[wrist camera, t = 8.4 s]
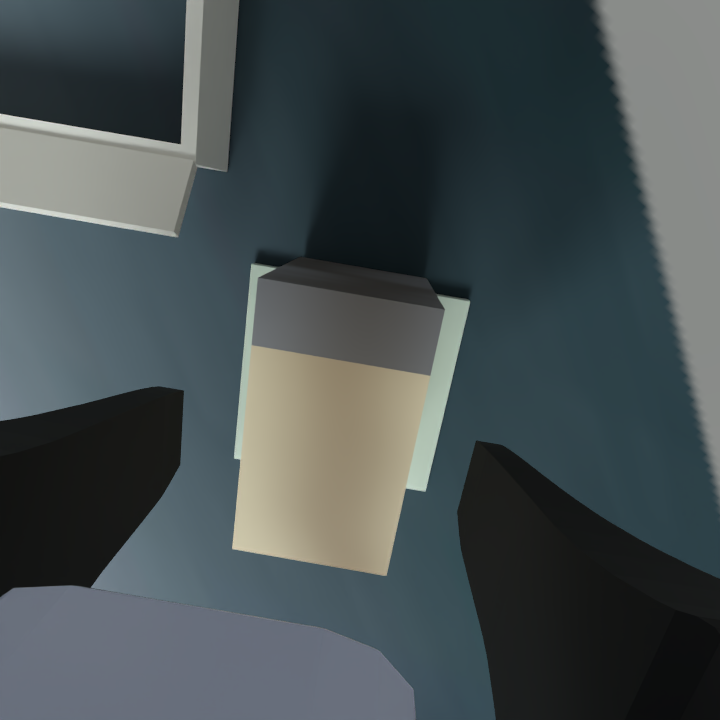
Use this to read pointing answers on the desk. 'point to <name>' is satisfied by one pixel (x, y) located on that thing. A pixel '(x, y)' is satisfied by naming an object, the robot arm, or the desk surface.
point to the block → (333, 411)
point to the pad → (435, 392)
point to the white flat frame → (130, 145)
